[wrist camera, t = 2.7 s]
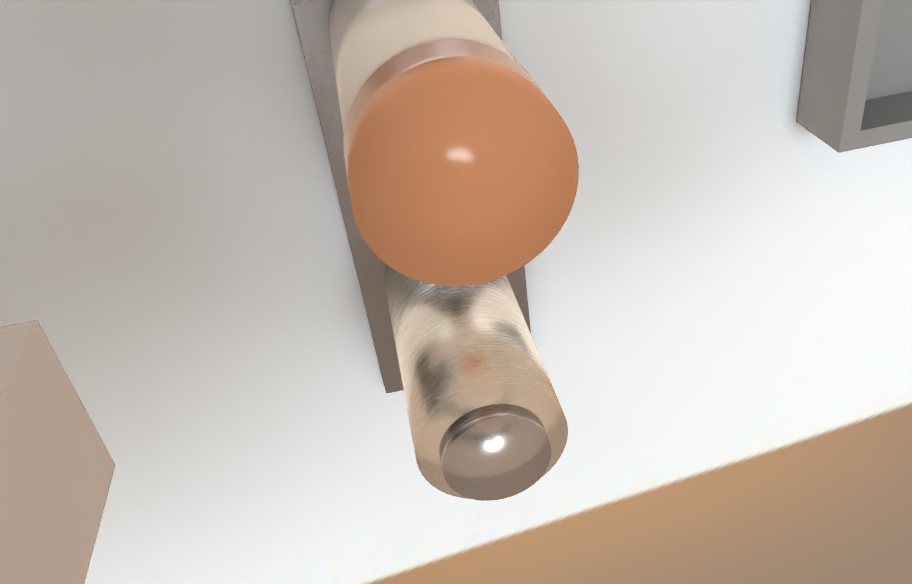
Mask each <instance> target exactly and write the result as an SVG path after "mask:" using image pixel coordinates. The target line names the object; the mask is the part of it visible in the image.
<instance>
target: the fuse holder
mask: <svg viewBox="0 0 912 584" xmlns="http://www.w3.org/2000/svg"><path fill="white" fill-rule="evenodd" d="M472 1H473V3H474V4H475V5H476V7H477V8H478V9H479V11H480V12H481V13H482V15H483V16H484V18H485V19H486V20H487V22H488V23H489V24H490V26H491V27H492V28H493V30H494V31H495V33H496V34H497V35H498V37H499V38H500V39H501V41H502V35H501V25H500V14H499V4H498V0H472ZM332 3H333V0H291V4H292V8H293V12H294V16H295V20H296V25H297V29H298V33H299V37H300V41H301V45H302V49H303V53H304V57H305V62H306V66H307V70H308V74H309V78H310V82H311V86H312V90H313V94H314V98H315V103H316V107H317V111H318V115H319V119H320V123H321V127H322V131H323V135H324V139H325V144H326V148H327V152H328V156H329V160H330V164H331V168H332V172H333V176H334V180H335V185H336V189H337V193H338V197H339V201H340V205H341V209H342V213H343V217H344V221H345V226H346V230H347V234H348V238H349V242H350V246H351V250H352V254H353V258H354V262H355V267H356V271H357V275H358V279H359V283H360V287H361V291H362V295H363V299H364V303H365V308H366V312H367V316H368V320H369V324H370V328H371V332H372V336H373V340H374V345H375V349H376V353H377V357H378V361H379V365H380V369H381V373H382V377H383V381H384V386H385V390H386V393H391V392H395V391H400V390H404V394H405V400H406V405H407V411H408V416H409V422H410V427H411V433H412V438H413V444H414V449H415V455H416V460H417V464H418V467H419V470H420V471H421V473H422V475H423V476H424V477H425V479H426V480H427V481H428V482H429V483H430V484H431V485H432V486H434V487H435V488H437V489H439V490H440V491H442V492H445V493H447V494H450V495H453V496H456V497H461V498H469V499H475V500H498V499H503V498H507V497H510V496H513V495H516V494H518V493H520V492H522V491H524V490H526V489H527V488H529V487H530V486H532V485H533V484H534V483H535V482H537V481H538V480H539V479H540V478H541V477H542V476H543V475H545V474H546V473H547V472H548V471H549V470H550V469H551V468H552V467H553V466H554V464H555V463H556V462H557V460H558V459H559V458H560V456H561V454H562V452H563V450H564V447H565V445H566V441H567V436H568V427H567V421H566V418H565V416H564V413H563V411H562V408H561V406H560V403H559V401H558V399H557V396H556V394H555V391H554V389H553V387H552V384H551V382H550V379H549V377H548V375H547V372H546V370H545V367H544V365H543V362H542V360H541V358H540V355H539V353H538V350H537V348H536V346H535V343H534V341H533V338H532V336H531V331H530V321H529V311H528V301H527V291H526V280H525V270H524V265H523V266H522V267H520V268H519V269H517V270H515V271H513V272H511V273H509V274H507V275H505V276H502V277H500V278H497V279H495V280H491V281H488V282H484V283H480V284H474V285H467V286H440V285H434V284H428V283H424V282H421V281H418V280H414V279H412V278H409V277H407V276H405V275H403V274H401V273H399V272H397V271H396V270H394V269H392V268H391V267H389V266H388V265H387V264H386V263H384V262H383V261H382V260H381V259H379V258H378V257H377V255H376V254H375V253H374V252H373V251H372V250H371V249H370V248H369V246H368V245H367V243H366V242H365V240H364V239H363V238H362V236H361V234H360V232H359V229H358V227H357V225H356V222H355V219H354V216H353V213H352V207H351V201H350V194H349V187H348V180H347V172H346V165H345V158H344V143H343V138H344V132H343V125H342V118H341V111H340V105H339V98H338V91H337V84H336V77H335V70H334V63H333V56H332V49H331V42H330V35H329V17H330V11H331V7H332Z"/></svg>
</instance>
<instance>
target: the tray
mask: <svg viewBox="0 0 912 584" xmlns="http://www.w3.org/2000/svg"><path fill="white" fill-rule="evenodd" d="M797 123H799V124H800V125H802V126H803V127H804V128H806V129H807V130H808V131H810V132H811V133H813V134H814V135H815V136H817V137H818V138H819V139H821V140H822V141H824V142H825V143H826V144H828V145H829V146H830V147H832V148H833V149H835V150H836V151H837V152H844V151H849V150H854V149H859V148H864V147H869V146H874V145H879V144H884V143H889V142H893V141H898V140H903V139H908V138H912V0H812V1H811V9H810V17H809V25H808V33H807V41H806V49H805V58H804V66H803V74H802V82H801V90H800V98H799V106H798V115H797Z"/></svg>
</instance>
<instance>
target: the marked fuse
mask: <svg viewBox="0 0 912 584" xmlns="http://www.w3.org/2000/svg"><path fill="white" fill-rule="evenodd" d="M329 35H330V42H331V49H332V56H333V63H334V70H335V77H336V84H337V91H338V98H339V105H340V111H341V118H342V125H343V132H344V138H343V143H344V158H345V165H346V172H347V180H348V187H349V194H350V201H351V207H352V213H353V216H354V219H355V222H356V225H357V227H358V229H359V232H360V234H361V236H362V238H363V239H364V240H365V242H366V243H367V245H368V246H369V248H370V249H371V250H372V251H373V252H374V253H375V254H376V255H377V257H378V258H379V259H381V260H382V261H383V262H384V263H386V264H387V265H388V266H389V267H391V268H392V269H394V270H396V271H397V272H399V273H401V274H403V275H405V276H407V277H409V278H412V279H414V280H418V281H421V282H424V283H428V284H434V285H440V286H467V285H474V284H480V283H484V282H488V281H491V280H495V279H497V278H500V277H502V276H505V275H507V274H509V273H511V272H513V271H515V270H517V269H519V268H520V267H522V266H523V265H525V264H527V263H528V262H530V261H531V260H532V259H533V258H535V257H536V256H537V255H538V254H539V253H541V252H542V251H543V250H544V249H545V248H546V247H547V246H548V245H549V244H550V243H551V241H552V240H553V239H554V237H555V236H556V235H557V234H558V232H559V231H560V229H561V228H562V226H563V224H564V223H565V221H566V219H567V217H568V215H569V213H570V210H571V208H572V205H573V202H574V199H575V196H576V191H577V185H578V168H579V167H578V158H577V152H576V148H575V144H574V141H573V138H572V136H571V134H570V131H569V129H568V127H567V126H566V124H565V122H564V121H563V119H562V118H561V116H560V115H559V113H558V112H557V111H556V109H555V108H554V107H553V105H552V104H551V103H550V101H549V100H548V99H547V97H546V96H545V95H544V93H543V92H542V91H541V89H540V88H539V87H538V85H537V84H536V82H535V81H534V80H533V78H532V77H531V76H530V75H529V74H528V72H527V71H526V70H525V69H524V68H523V67H522V66H521V65H520V64H519V63H517V61H516V60H515V58H514V57H513V56H512V54H511V53H510V52H509V50H508V49H507V48H506V46H505V45H504V43H503V42H502V41H501V39H500V38H499V37H498V35H497V34H496V33H495V31H494V30H493V28H492V27H491V26H490V24H489V23H488V22H487V20H486V19H485V18H484V16H483V15H482V13H481V12H480V11H479V9H478V8H477V7H476V5H475V4H474V3H473V1H472V0H333V3H332V7H331V11H330V17H329Z"/></svg>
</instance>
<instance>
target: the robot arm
mask: <svg viewBox="0 0 912 584" xmlns="http://www.w3.org/2000/svg"><path fill="white" fill-rule="evenodd" d="M114 468H115V463H114V462H113V460H112V458H111V456H110V454H109V452H108V450H107V449H106V447H105V445H104V443H103V441H102V439H101V437H100V436H99V434H98V432H97V430H96V428H95V426H94V425H93V423H92V421H91V419H90V417H89V415H88V413H87V412H86V410H85V408H84V406H83V404H82V402H81V400H80V399H79V397H78V395H77V393H76V391H75V389H74V387H73V386H72V384H71V382H70V380H69V378H68V376H67V374H66V373H65V371H64V369H63V367H62V365H61V363H60V361H59V360H58V358H57V356H56V354H55V352H54V350H53V348H52V347H51V345H50V343H49V341H48V339H47V337H46V336H45V334H44V332H43V330H42V328H41V326H40V324H39V323H38V321H37V320H36V321H31V322H26V323H20V324H15V325H10V326H5V327H0V584H84V583H85V579H86V575H87V571H88V567H89V564H90V560H91V556H92V552H93V548H94V544H95V541H96V537H97V533H98V529H99V525H100V521H101V518H102V514H103V510H104V506H105V502H106V498H107V495H108V491H109V487H110V483H111V479H112V476H113V472H114Z"/></svg>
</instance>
